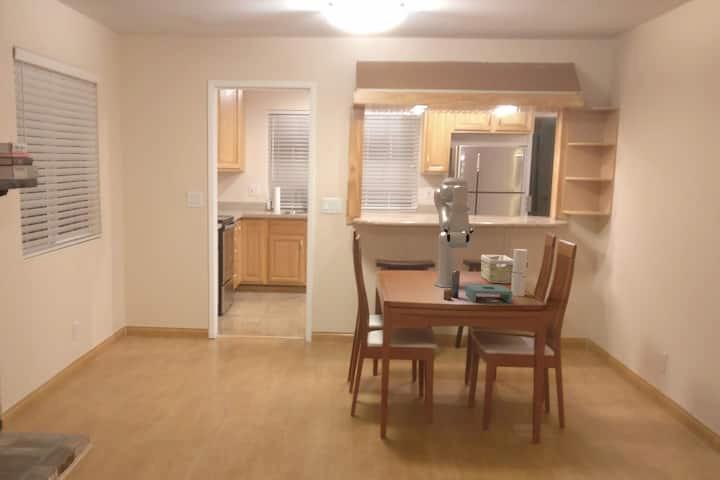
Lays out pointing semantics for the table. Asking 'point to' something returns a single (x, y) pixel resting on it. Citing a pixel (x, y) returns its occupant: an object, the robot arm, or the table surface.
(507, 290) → the bridge
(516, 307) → the table surface
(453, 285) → the long pin
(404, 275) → the table surface
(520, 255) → the cylindrical container
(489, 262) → the storage basket
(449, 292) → the short pin
